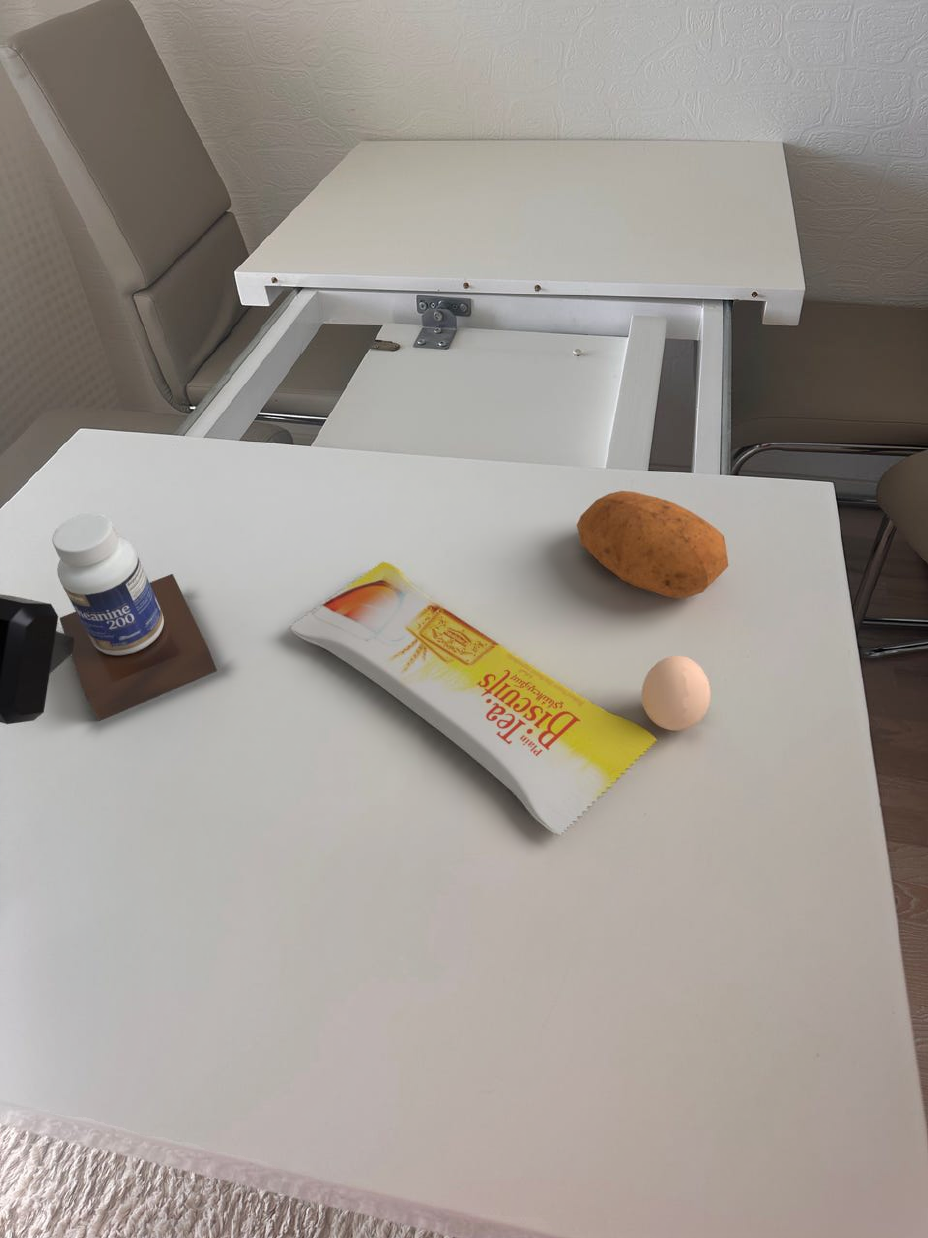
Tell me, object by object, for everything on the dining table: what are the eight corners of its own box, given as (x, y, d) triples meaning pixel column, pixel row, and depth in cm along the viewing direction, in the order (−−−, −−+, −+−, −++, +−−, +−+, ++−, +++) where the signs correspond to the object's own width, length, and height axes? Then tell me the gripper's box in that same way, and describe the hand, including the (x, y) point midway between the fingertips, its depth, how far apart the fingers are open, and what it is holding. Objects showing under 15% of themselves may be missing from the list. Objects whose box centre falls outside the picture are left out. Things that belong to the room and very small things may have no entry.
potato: (680, 637, 70) (672, 569, 65) (566, 561, 78) (551, 496, 73) (747, 583, 72) (745, 513, 67) (629, 514, 80) (619, 448, 75)
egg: (701, 693, 66) (710, 637, 62) (710, 745, 63) (719, 690, 59) (636, 694, 66) (641, 639, 62) (642, 746, 63) (647, 691, 59)
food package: (661, 728, 61) (559, 828, 57) (658, 749, 63) (559, 848, 59) (382, 548, 76) (283, 617, 71) (386, 569, 78) (290, 637, 73)
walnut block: (99, 721, 69) (84, 694, 67) (73, 644, 75) (58, 617, 72) (217, 670, 71) (206, 643, 69) (183, 600, 77) (172, 573, 75)
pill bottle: (82, 658, 69) (28, 559, 62) (107, 606, 73) (58, 507, 66) (153, 658, 69) (106, 558, 62) (174, 605, 72) (132, 505, 65)
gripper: (-55, 488, 41) (158, 524, 56) (-362, 435, 46) (-91, 481, 61) (-92, 741, 41) (129, 710, 56) (-391, 661, 46) (-115, 652, 61)
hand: (9, 631), depth 59 cm, fingers open, 9 cm apart
